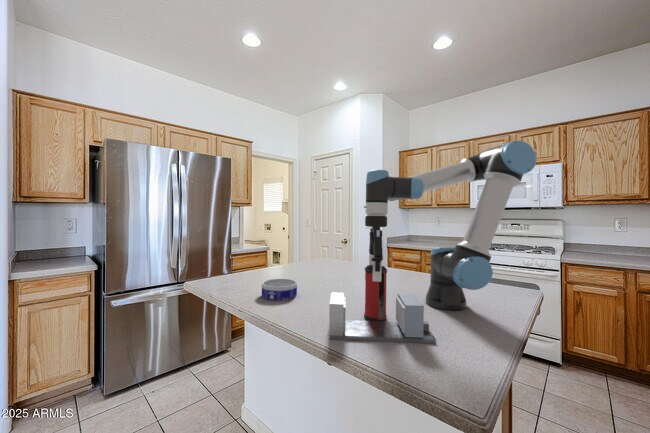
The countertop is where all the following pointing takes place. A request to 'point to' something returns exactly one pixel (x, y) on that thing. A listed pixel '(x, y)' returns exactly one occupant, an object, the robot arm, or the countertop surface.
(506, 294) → the countertop surface
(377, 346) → the countertop surface
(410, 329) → the slide jaw
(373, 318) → the speaker
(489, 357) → the countertop surface
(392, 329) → the vise bed
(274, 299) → the dog bowl
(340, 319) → the fixed jaw
